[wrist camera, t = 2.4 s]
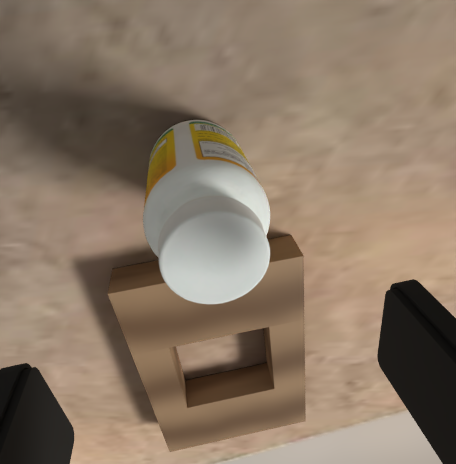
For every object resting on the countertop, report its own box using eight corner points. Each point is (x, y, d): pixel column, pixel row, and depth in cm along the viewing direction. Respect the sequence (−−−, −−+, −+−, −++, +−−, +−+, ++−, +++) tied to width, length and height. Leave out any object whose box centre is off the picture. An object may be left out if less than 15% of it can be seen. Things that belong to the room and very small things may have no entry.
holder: (112, 268, 24) (107, 294, 21) (291, 234, 24) (303, 255, 22) (169, 423, 33) (169, 451, 31) (296, 395, 34) (305, 421, 32)
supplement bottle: (228, 104, 19) (276, 170, 11) (250, 191, 22) (302, 293, 14) (132, 135, 19) (112, 223, 11) (167, 217, 22) (171, 335, 14)
